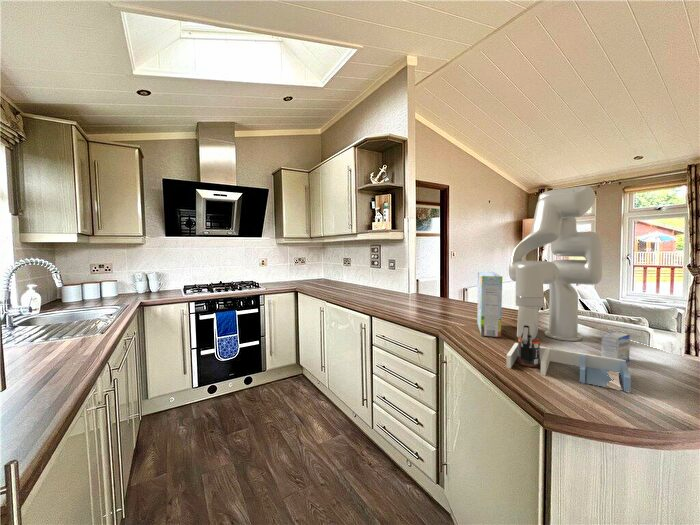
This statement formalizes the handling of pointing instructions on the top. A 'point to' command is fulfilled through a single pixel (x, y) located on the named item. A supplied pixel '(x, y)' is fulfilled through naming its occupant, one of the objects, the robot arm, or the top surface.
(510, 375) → the top surface
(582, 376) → the organizer
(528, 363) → the supplement bottle
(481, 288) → the snack box
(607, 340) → the medicine box
